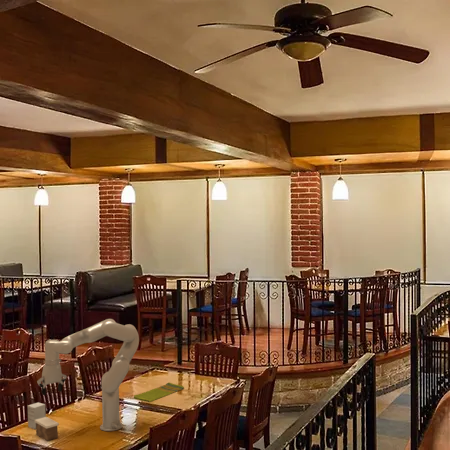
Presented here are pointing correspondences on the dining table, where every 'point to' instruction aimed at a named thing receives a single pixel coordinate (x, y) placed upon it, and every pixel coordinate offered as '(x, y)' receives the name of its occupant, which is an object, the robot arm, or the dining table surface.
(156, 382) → the dining table surface
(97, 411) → the dining table surface
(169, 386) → the dish towel
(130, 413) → the dining table surface
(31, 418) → the supplement box
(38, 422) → the lid
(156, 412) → the dining table surface
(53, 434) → the crate
